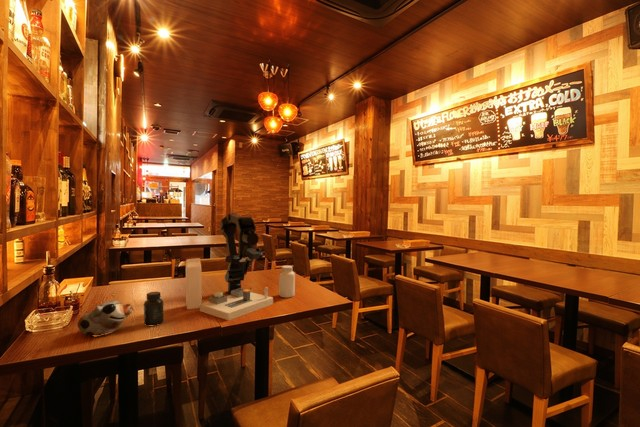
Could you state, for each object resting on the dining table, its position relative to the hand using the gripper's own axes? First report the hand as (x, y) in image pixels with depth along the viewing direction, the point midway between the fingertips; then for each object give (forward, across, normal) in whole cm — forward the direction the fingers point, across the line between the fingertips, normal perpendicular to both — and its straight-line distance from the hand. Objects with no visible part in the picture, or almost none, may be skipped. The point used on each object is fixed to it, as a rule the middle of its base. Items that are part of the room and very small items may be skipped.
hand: (244, 274), depth 158 cm
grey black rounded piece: (+13, -56, +11) cm, 59 cm away
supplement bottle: (+13, -42, +4) cm, 44 cm away
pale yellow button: (+7, -16, -1) cm, 17 cm away
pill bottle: (+13, +18, -11) cm, 25 cm away
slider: (+9, -7, -9) cm, 15 cm away
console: (+12, -9, -6) cm, 17 cm away
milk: (+13, -21, +10) cm, 27 cm away
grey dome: (+9, -4, 0) cm, 10 cm away
